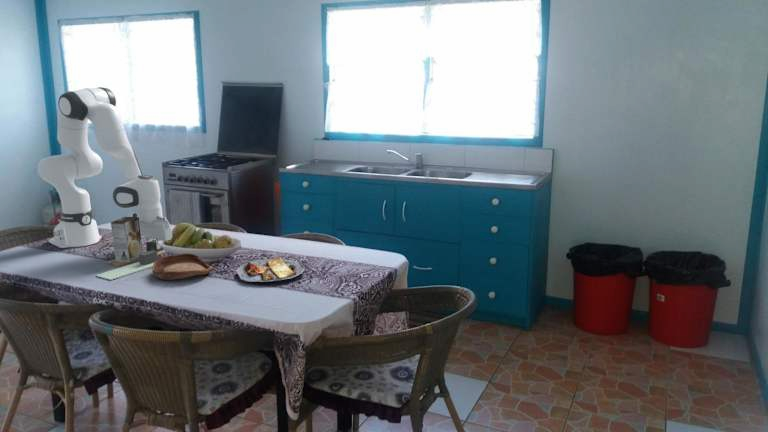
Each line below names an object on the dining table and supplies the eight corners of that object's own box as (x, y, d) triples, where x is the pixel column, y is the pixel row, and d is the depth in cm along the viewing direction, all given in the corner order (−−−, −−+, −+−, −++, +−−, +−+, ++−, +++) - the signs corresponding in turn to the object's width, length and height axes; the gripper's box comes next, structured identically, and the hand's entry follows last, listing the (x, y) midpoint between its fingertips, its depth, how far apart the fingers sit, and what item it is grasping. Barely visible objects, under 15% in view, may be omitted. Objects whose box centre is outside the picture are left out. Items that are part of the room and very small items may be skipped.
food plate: (231, 268, 229) (231, 259, 228) (292, 260, 238) (292, 252, 237) (244, 291, 207) (244, 281, 206) (310, 282, 216) (310, 272, 215)
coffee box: (129, 254, 246) (124, 216, 242) (143, 255, 245) (139, 216, 241) (115, 261, 237) (110, 221, 233) (129, 262, 236) (125, 222, 232)
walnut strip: (106, 263, 237) (104, 252, 236) (154, 248, 256) (153, 238, 255) (120, 266, 233) (119, 255, 232) (168, 251, 251) (167, 241, 250)
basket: (223, 275, 223) (222, 262, 222) (171, 289, 209) (170, 275, 208) (192, 262, 238) (191, 249, 237) (142, 274, 225) (141, 261, 223)
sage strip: (95, 276, 222) (94, 264, 221) (148, 260, 241) (146, 249, 239) (111, 280, 217) (109, 268, 216) (163, 263, 236) (162, 252, 235)
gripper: (174, 216, 244) (177, 249, 248) (141, 210, 255) (145, 242, 258) (161, 219, 239) (164, 253, 242) (128, 213, 250) (132, 246, 253)
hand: (154, 247), depth 250 cm, fingers closed on walnut strip, 3 cm apart
